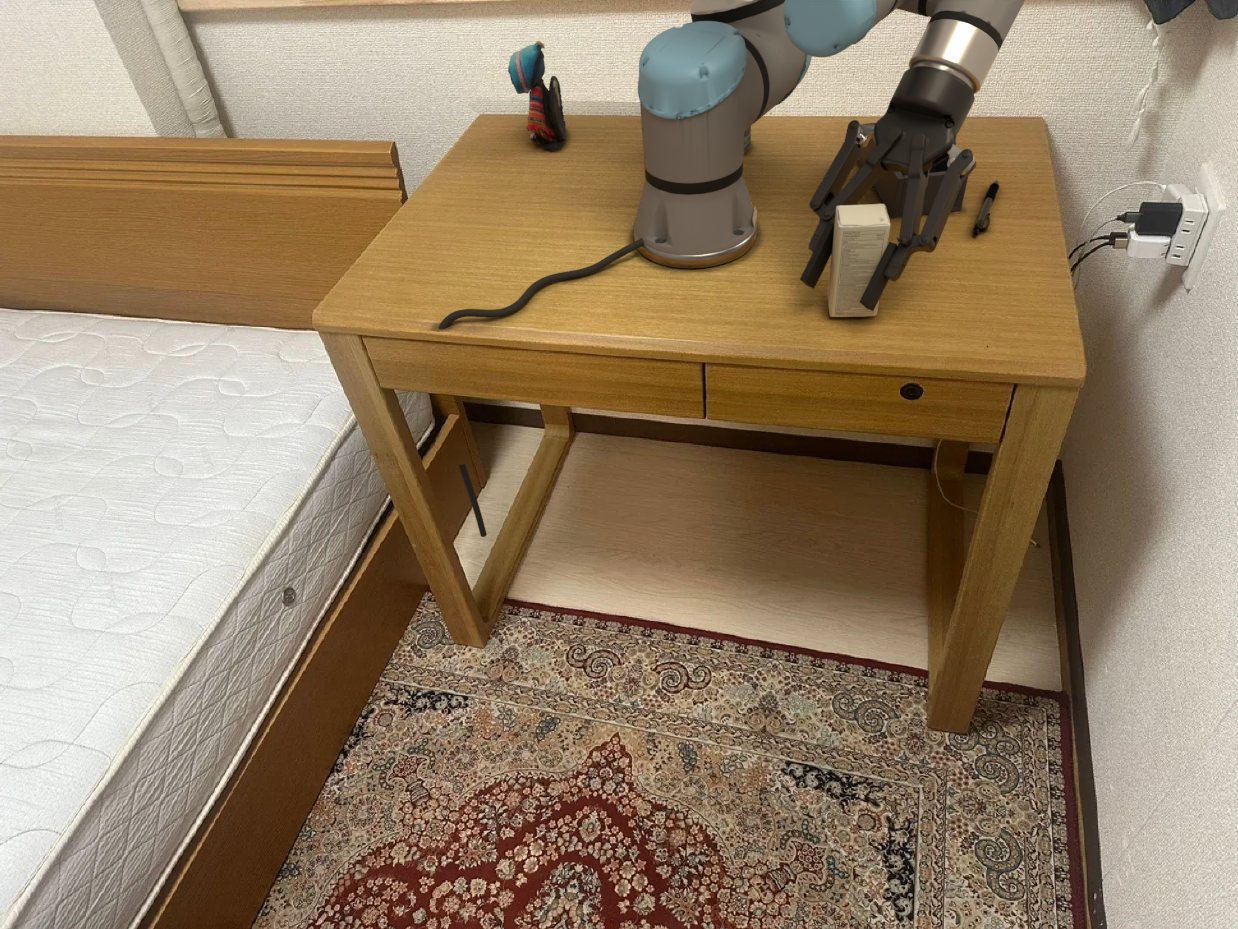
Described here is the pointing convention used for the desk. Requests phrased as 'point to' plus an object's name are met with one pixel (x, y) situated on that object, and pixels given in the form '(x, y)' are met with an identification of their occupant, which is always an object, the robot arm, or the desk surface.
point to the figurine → (539, 97)
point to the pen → (986, 209)
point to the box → (855, 256)
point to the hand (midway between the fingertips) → (836, 294)
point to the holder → (896, 185)
